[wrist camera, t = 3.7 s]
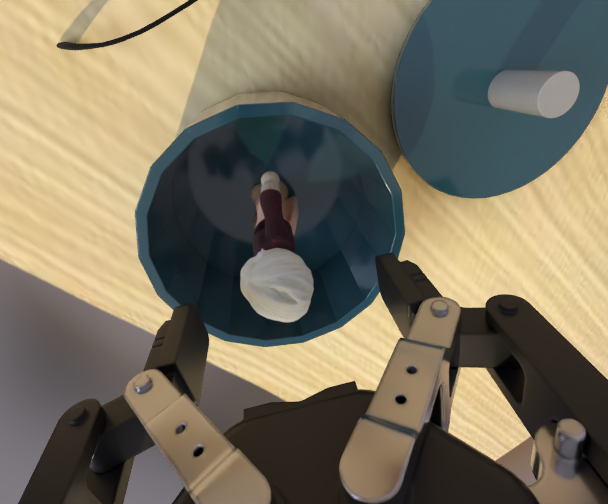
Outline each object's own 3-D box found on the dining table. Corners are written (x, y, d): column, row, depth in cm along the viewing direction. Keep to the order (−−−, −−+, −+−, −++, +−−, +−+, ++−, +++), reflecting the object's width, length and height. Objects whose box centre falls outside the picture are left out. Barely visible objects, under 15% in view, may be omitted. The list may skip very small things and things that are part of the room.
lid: (397, 213, 28) (430, 248, 23) (375, -20, 21) (417, -47, 16) (580, 167, 29) (655, 191, 23) (622, -79, 21) (743, -125, 16)
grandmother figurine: (304, 243, 28) (339, 360, 17) (256, 252, 28) (260, 377, 17) (286, 144, 25) (317, 212, 13) (231, 155, 24) (215, 232, 13)
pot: (207, 304, 30) (195, 370, 24) (127, 120, 23) (79, 143, 16) (378, 261, 30) (412, 314, 24) (352, 65, 23) (391, 66, 17)
